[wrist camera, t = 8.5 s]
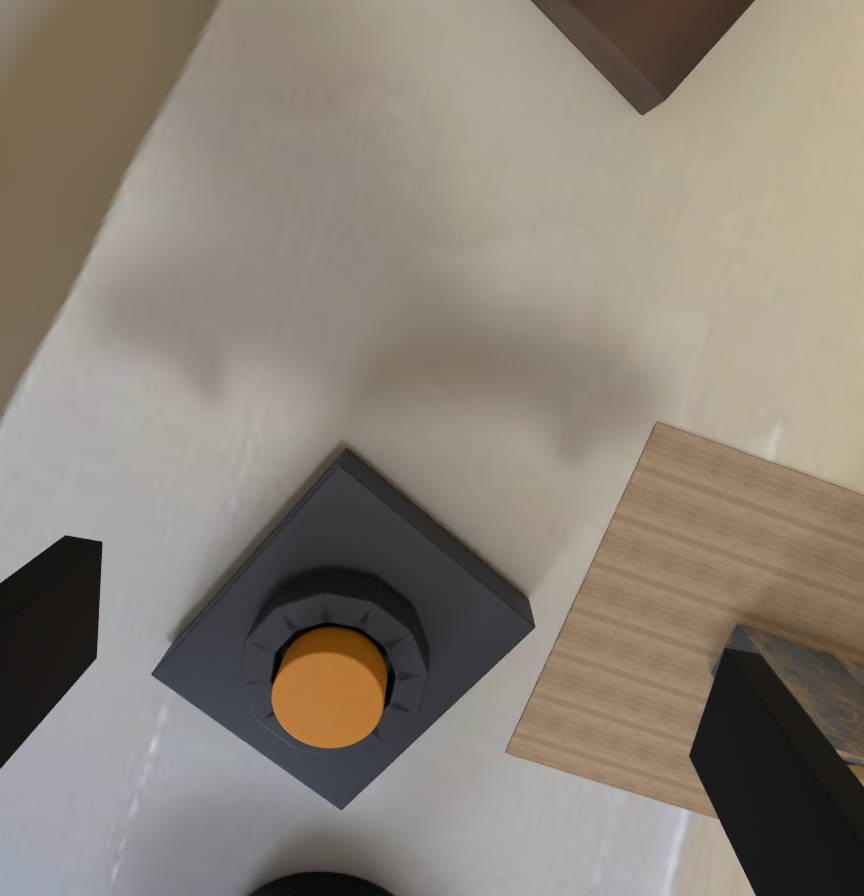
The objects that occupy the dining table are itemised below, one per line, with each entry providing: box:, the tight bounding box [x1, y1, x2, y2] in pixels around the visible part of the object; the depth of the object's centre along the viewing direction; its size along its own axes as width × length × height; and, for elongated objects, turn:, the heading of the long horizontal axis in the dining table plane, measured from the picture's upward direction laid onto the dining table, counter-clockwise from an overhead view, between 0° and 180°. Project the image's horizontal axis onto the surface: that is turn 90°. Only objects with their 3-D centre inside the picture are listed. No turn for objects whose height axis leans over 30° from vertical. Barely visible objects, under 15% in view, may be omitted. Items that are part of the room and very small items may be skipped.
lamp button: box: [271, 627, 387, 748], centre depth 25 cm, size 4×4×2 cm
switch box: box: [152, 449, 535, 810], centre depth 28 cm, size 10×12×4 cm
